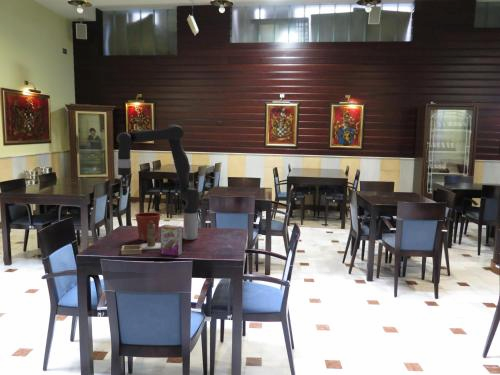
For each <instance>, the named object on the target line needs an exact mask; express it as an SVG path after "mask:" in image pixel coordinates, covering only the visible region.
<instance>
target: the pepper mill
mask: <svg viewBox="0 0 500 375" xmlns="http://www.w3.org/2000/svg"><path fill="white" fill-rule="evenodd" d="M146 243H147V246H150V247H151V246H155V243H156V240H155V224H153V222H152V221H150V222H149V224H147V241H146Z"/></svg>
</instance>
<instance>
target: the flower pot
mask: <svg viewBox="0 0 500 375" xmlns="http://www.w3.org/2000/svg"><path fill="white" fill-rule="evenodd" d="M134 216H135V219H136V220H135V221H136V228H137V234H138V236H137V237H138V239H139V240H140V241H146V242H147V224H149V222H150V221H152V222H153V224H155V241H156V240H157V239H158V238H159V230H160V229H159V228H160V220H161V216H162V213H160V212H152V211H149V212H139V213H136V214H134Z"/></svg>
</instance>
